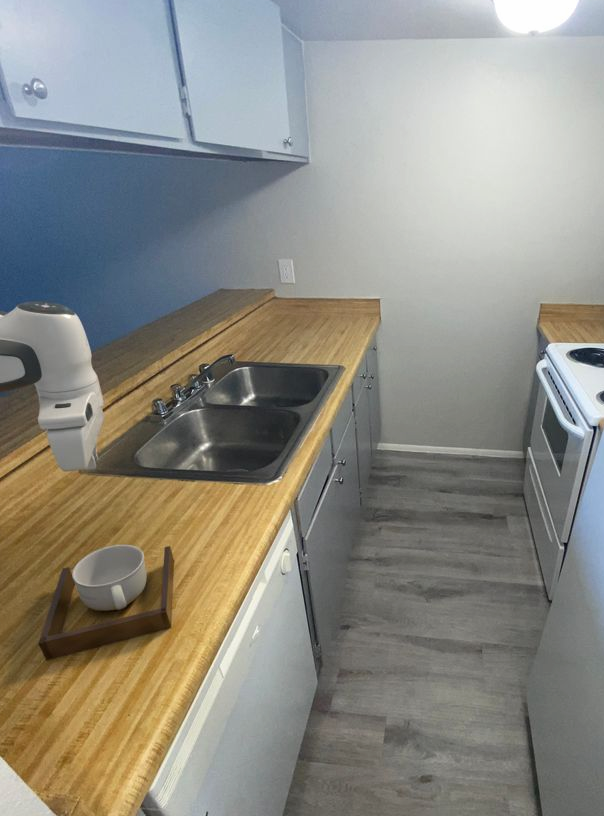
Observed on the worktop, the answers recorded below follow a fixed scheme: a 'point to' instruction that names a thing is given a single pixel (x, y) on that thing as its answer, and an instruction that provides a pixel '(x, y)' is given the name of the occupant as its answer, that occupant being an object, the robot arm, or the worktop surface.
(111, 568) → the teacup
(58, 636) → the dish corral
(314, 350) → the worktop surface
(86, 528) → the worktop surface
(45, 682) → the worktop surface
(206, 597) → the worktop surface
